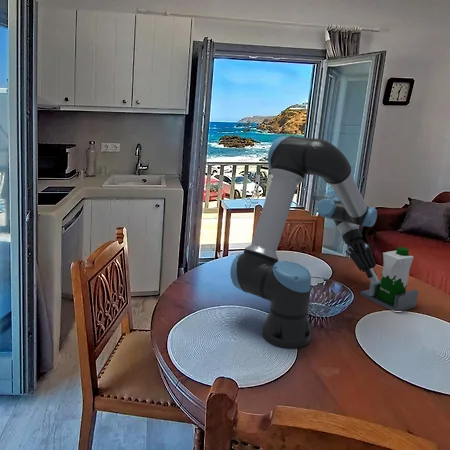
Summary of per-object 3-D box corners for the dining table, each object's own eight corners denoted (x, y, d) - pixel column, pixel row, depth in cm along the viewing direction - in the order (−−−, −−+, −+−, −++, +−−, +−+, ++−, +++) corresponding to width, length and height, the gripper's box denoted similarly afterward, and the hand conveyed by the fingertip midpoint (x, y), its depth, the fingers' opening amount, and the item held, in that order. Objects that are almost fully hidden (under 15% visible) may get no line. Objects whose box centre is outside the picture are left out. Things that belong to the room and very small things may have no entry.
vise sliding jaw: (391, 291, 172) (393, 279, 171) (372, 296, 167) (374, 284, 165) (387, 289, 174) (389, 277, 173) (368, 294, 168) (370, 282, 167)
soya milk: (408, 302, 164) (417, 251, 159) (391, 305, 160) (399, 254, 155) (390, 292, 172) (398, 244, 167) (373, 296, 168) (380, 246, 163)
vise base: (415, 307, 164) (418, 291, 162) (396, 313, 158) (399, 296, 156) (378, 290, 178) (381, 275, 176) (360, 295, 172) (362, 279, 170)
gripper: (355, 234, 186) (381, 285, 178) (333, 238, 180) (359, 291, 171) (366, 225, 181) (394, 277, 172) (344, 229, 174) (372, 284, 165)
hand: (376, 284), depth 172 cm, fingers closed
